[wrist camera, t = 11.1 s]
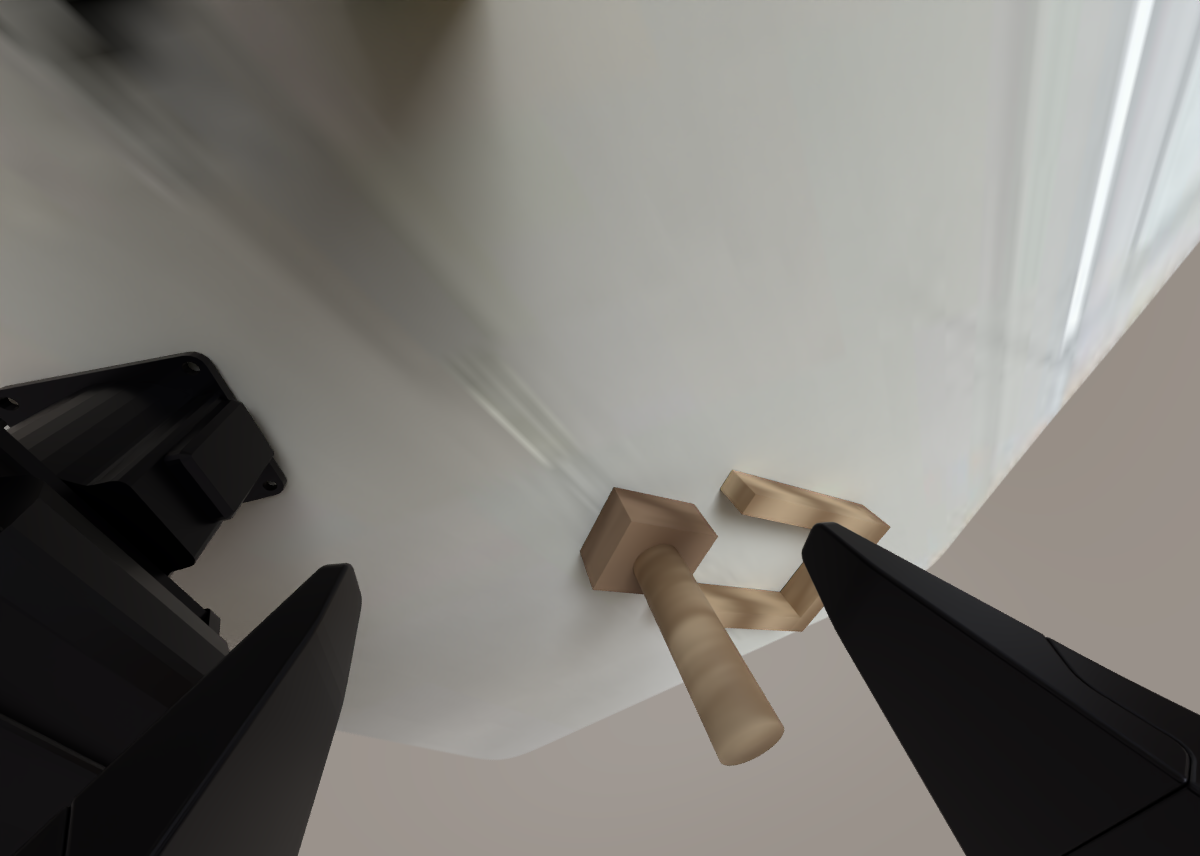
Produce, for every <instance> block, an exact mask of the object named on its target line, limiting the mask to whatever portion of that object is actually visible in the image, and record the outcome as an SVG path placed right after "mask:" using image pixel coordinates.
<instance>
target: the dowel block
mask: <svg viewBox="0 0 1200 856" xmlns="http://www.w3.org/2000/svg"><path fill="white" fill-rule="evenodd" d="M717 537H718V536H717V535H716V533H715V532H714V530H713V529H712V528H711V526H710V525H709V524H708V522H707V521H706V520H705V518H704V517H703V516H702V514H701V513H700V512H699V510H698V509H697V507H696V506H695V505H694V504H691V503H686V502H682V501H677V500H672V499H668V498H663V497H658V496H654V495H649V494H644V493H639V492H635V491H630V490H625V489H621V488H616V487H614V488H613V489H612V491H611V493H610V495H609V497H608V499H607V501H606V503H605V505H604V507H603V508H602V510H601V512H600V514H599V516H598V518H597V520H596V522H595V524H594V525H593V527H592V529H591V531H590V533H589V535H588V537H587V539H586V541H585V543H584V544H583V546H582V548H581V550H580V553H581V556H582V559H583V562H584V565H585V568H586V571H587V574H588V577H589V580H590V583H591V586H592V589H593V590H602V591H613V592H625V593H636V594H644V596H645V598H646V600H647V602H648V604H649V607H650V609H651V611H652V613H653V615H654V618H655V620H656V622H657V624H658V626H659V629H660V631H661V633H662V635H663V637H664V640H665V642H666V644H667V646H668V648H669V651H670V653H671V655H672V657H673V659H674V662H675V664H676V666H677V668H678V670H679V673H680V675H681V677H682V679H683V681H684V683H685V686H686V688H687V690H688V692H689V694H690V696H691V699H692V701H693V703H694V705H695V708H696V710H697V712H698V714H699V716H700V719H701V721H702V723H703V725H704V727H705V730H706V732H707V734H708V736H709V738H710V741H711V743H712V745H713V747H714V749H715V751H716V754H717V756H718V758H719V760H720V762H721V763H722V764H723V765H727V766H731V765H738V764H742V763H745V762H747V761H750V760H752V759H754V758H756V757H758V756H760V755H761V754H763V753H764V752H766V751H767V750H769V749H770V748H771V747H773V746H774V745H775V744H776V743H777V742H778V741H779V739H780V738H781V737H782V735H783V733H784V727H783V725H782V723H781V721H780V720H779V718H778V717H777V715H776V713H775V711H774V710H773V708H772V707H771V705H770V703H769V701H768V700H767V698H766V697H765V695H764V693H763V691H762V690H761V688H760V687H759V685H758V683H757V682H756V680H755V678H754V677H753V675H752V673H751V672H750V670H749V668H748V667H747V665H746V663H745V662H744V660H743V658H742V657H741V655H740V653H739V652H738V650H737V648H736V647H735V645H734V643H733V642H732V640H731V638H730V637H729V635H728V633H727V632H726V630H725V628H724V627H723V625H722V623H721V622H720V620H719V618H718V617H717V615H716V613H715V612H714V610H713V608H712V607H711V605H710V603H709V602H708V600H707V598H706V597H705V595H704V593H703V592H702V590H701V588H700V587H699V585H698V583H697V582H696V580H695V578H694V577H693V573H694V572H695V570H696V569H697V567H698V566H699V564H700V563H701V561H702V560H703V558H704V557H705V555H706V554H707V552H708V551H709V549H710V548H711V546H712V545H713V543H714V542H715V540H716V539H717Z"/></svg>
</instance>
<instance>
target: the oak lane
mask: <svg viewBox="0 0 1200 856" xmlns="http://www.w3.org/2000/svg"><path fill="white" fill-rule="evenodd" d="M721 490H722V492H723V493H724V494H725V495H726V496H727V497H728V499H729V500H730V501H731V502H732V503H733V504H734V506H735V507H736V508H737V509H738V510H739V511H740V513H741V514H743V515H748V516H752V517H757V518H762V519H766V520H771V521H776V522H781V523H785V524H790V525H795V526H800V527H804V528H809V529H812V527H813V526H814V525H815V524H816V523H822V522H835V523H838V524H840V525H842V526H844V527H845V528H847V529H849V530H851V531H853V532H855V533H857V534H858V535H860V536H862V537H864V538H866V539H868V540H869V541H871V542H873V543H875V544H877V543H878V541H879V540H880V539H881V538H882V537H883V536H884V534H885V533H886V532H887V531H888V530H889V528H890V526H889V525H887V524H886V523H885V522H884V521H882V520H881V519H880V518H879V517H877V516H876V515H875V514H874V513H872V512H871V511H870V510H868V509H867V508H866V507H865V506H863V505H861V504H857V503H854V502H850V501H846V500H842V499H839V498H835V497H831V496H828V495H824V494H820V493H816V492H813V491H809V490H805V489H801V488H798V487H794V486H790V485H787V484H783V483H779V482H775V481H772V480H768V479H764V478H761V477H757V476H753V475H749V474H746V473H742V472H738V471H735V470H732V471H731V473H730V474H729V476H728V478H727V479H726V481H725V482H724V484H723V485H722V487H721ZM698 585H699V587H700V588H701V590H702V592H703V593H704V595H705V597H706V598H707V600H708V602H709V603H710V605H711V607H712V608H713V610H714V612H715V613H716V615H717V617H718V618H719V620H720V622H721V623H722V625H723V627H724V628H742V629H761V630H780V631H800V632H802V631H803V630H804V629H805V628H806V627H807V626H808V624H809V623H810V622H811V621H812V620H813V618H814V617H815V616H816V615H817V614H818V612H819V611H820V610H821V609H822V608H823V607H824V605H823V603H822V601H821V599H820V597H819V595H818V592H817V590H816V588H815V586H814V584H813V582H812V580H811V577H810V575H809V573H808V571H807V569H806V567H805V565H804V562H803V564H802V565H801V566H800V567H799V569H798V570H797V571H796V572H795V574H794V575H793V576H792V578H791V579H790V580H789V581H788V583H787V584H786V585H785V587H784V588H783V589H782V590H781V592H774V591H765V590H756V589H747V588H737V587H728V586H719V585H710V584H701V583H698Z"/></svg>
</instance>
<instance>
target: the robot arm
mask: <svg viewBox="0 0 1200 856" xmlns="http://www.w3.org/2000/svg"><path fill="white" fill-rule="evenodd" d="M188 362H192V363H195V364H196V365H197V366H198V367H199V369H200V371H195V370H193V369H191V368H190V367H189V366H188ZM7 397H8V398H11V399H14V400H15V401H16V402H18V404H19V405H16V404H13V403H12V402H10V401H9V399H8V398H7ZM7 425H8V426H9V427H10V428H9V429H7V430H5V429H4V427H5V426H7ZM273 455H274V452H273V450H272V449H271V447H270V446H269V444H268V442H267V441H266V439H265V438H264V436H263V434H262V433H261V431H260V430H259V428H258V427H257V425H256V423H255V422H254V420H253V419H252V417H251V416H250V414H249V412H248V411H247V409H246V408H245V406H244V405H243V403H241V402H239V401H237V400H236V399H235V398H234V396H233V394H232V393H231V391H230V390H229V388H228V387H227V385H226V383H225V382H224V380H223V379H222V377H221V376H220V374H219V373H218V371H217V369H216V368H215V366H214V365H213V363H212V362H211V361H210V359H209V358H208V357H206V356H205V355H203V354H201V353H197V352H185V353H180V354H175V355H169V356H164V357H159V358H153V359H148V360H143V361H137V362H132V363H127V364H121V365H116V366H111V367H105V368H100V369H95V370H89V371H84V372H79V373H73V374H68V375H63V376H57V377H52V378H47V379H41V380H36V381H31V382H25V383H20V384H15V385H9V386H5V387H2V388H0V856H298V853H299V849H300V846H301V842H302V839H303V836H304V833H305V829H306V826H307V823H308V819H309V816H310V813H311V809H312V806H313V803H314V800H315V796H316V793H317V790H318V786H319V783H320V780H321V776H322V773H323V770H324V766H325V763H326V759H327V756H328V753H329V749H330V746H331V743H332V739H333V736H334V733H335V730H336V726H337V723H338V720H339V716H340V712H341V709H342V705H343V701H344V697H345V692H346V687H347V682H348V677H349V671H350V666H351V660H352V655H353V650H354V644H355V639H356V633H357V628H358V623H359V617H360V612H361V604H362V598H361V592H360V589H359V586H358V582H357V579H356V575H355V572H354V569H353V567H352V565H351V564H349V563H341V564H329V565H325V566H323V567H321V568H319V569H318V570H317V571H316V572H315V573H314V574H313V575H312V576H311V577H310V578H309V579H308V580H306V581H305V582H304V583H303V584H302V585H301V586H300V587H299V588H298V589H297V590H296V591H295V592H294V593H293V594H291V595H290V596H289V597H288V598H287V599H286V600H285V601H284V602H283V603H282V604H281V605H280V606H279V607H278V608H277V609H275V610H274V611H273V612H272V613H271V614H270V615H269V616H268V617H267V618H266V619H265V620H264V621H263V622H262V623H260V624H259V625H258V626H257V627H256V628H255V629H254V630H253V631H252V632H251V633H250V634H249V635H248V636H247V637H245V638H244V639H243V640H242V641H241V642H240V643H239V644H238V645H237V646H236V647H235V648H234V649H233V650H232V651H230V652H229V648H228V644H227V642H226V641H225V640H224V639H223V638H222V637H220V636H219V632H220V618H219V617H218V616H217V615H216V614H215V613H214V612H213V611H211V610H210V609H203V608H202V607H201V606H200V605H199V604H198V603H197V602H196V601H194V600H193V599H192V598H191V597H190V596H189V595H188V594H187V593H186V592H184V591H183V590H182V589H181V588H180V587H179V586H178V585H177V584H176V583H175V582H173V581H172V580H171V579H170V576H171V575H172V574H173V572H174V571H176V570H180V569H184V568H187V567H190V566H192V565H194V564H195V562H196V561H197V559H198V558H199V556H200V555H201V553H202V552H203V550H204V549H205V547H206V546H207V544H208V543H209V542H210V540H211V539H212V537H213V536H214V534H215V533H216V531H217V530H218V528H219V527H220V525H221V524H222V522H223V521H225V520H229V519H231V518H232V517H233V516H234V515H235V513H236V511H237V510H238V508H239V507H240V505H241V504H242V503H245V502H249V501H253V500H257V499H261V498H265V497H269V496H273V495H276V494H279V493H281V492H282V490H283V489H284V487H285V485H286V483H287V480H286V477H285V476H284V474H283V472H282V471H281V469H280V468H279V466H278V465H277V463H276V462H275V460H274V458H273V457H272V456H273ZM267 481H272V482H275V483H276V484H277V485H270V484H268V483H267ZM802 559H803V562H804V565H805V567H806V569H807V571H808V573H809V575H810V577H811V580H812V582H813V584H814V586H815V588H816V590H817V592H818V595H819V597H820V599H821V601H822V603H823V605H824V607H825V610H826V612H827V614H828V616H829V618H830V620H831V622H832V624H833V626H834V628H835V630H836V632H837V634H838V636H839V637H840V639H841V641H842V643H843V644H844V646H845V648H846V650H847V651H848V653H849V655H850V656H851V658H852V660H853V662H854V663H855V665H856V667H857V669H858V670H859V672H860V674H861V676H862V677H863V679H864V680H865V682H866V684H867V686H868V688H869V689H870V691H871V693H872V694H873V696H874V698H875V699H876V701H877V703H878V705H879V707H880V708H881V710H882V712H883V713H884V715H885V717H886V718H887V720H888V722H889V724H890V726H891V727H892V729H893V731H894V732H895V734H896V736H897V738H898V739H899V741H900V743H901V745H902V746H903V748H904V749H905V751H906V753H907V755H908V757H909V758H910V760H911V762H912V764H913V765H914V767H915V769H916V770H917V772H918V774H919V775H920V777H921V779H922V781H923V782H924V784H925V786H926V788H927V789H928V791H929V793H930V795H931V796H932V798H933V800H934V801H935V803H936V805H937V807H938V808H939V810H940V812H941V814H942V815H943V817H944V819H945V820H946V822H947V824H948V826H949V827H950V829H951V831H952V832H953V834H954V836H955V837H956V839H957V841H958V843H959V845H960V846H961V848H962V850H963V851H964V853H965V855H966V856H1200V715H1199V714H1197V713H1195V712H1193V711H1191V710H1188V709H1186V708H1185V707H1182V706H1180V705H1178V704H1176V703H1174V702H1172V701H1170V700H1168V699H1166V698H1164V697H1162V696H1160V695H1158V694H1156V693H1154V692H1152V691H1150V690H1148V689H1146V688H1144V687H1142V686H1140V685H1138V684H1136V683H1134V682H1132V681H1130V680H1128V679H1126V678H1124V677H1122V676H1120V675H1118V674H1117V673H1115V672H1113V671H1111V670H1109V669H1107V668H1105V667H1103V666H1101V665H1099V664H1098V663H1096V662H1094V661H1092V660H1090V659H1088V658H1086V657H1084V656H1082V655H1080V654H1078V653H1077V652H1075V651H1073V650H1071V649H1069V648H1067V647H1066V646H1064V645H1062V644H1060V643H1058V642H1056V641H1055V640H1053V639H1051V638H1048V637H1045V636H1044V635H1043V634H1041V633H1039V632H1038V631H1036V630H1034V629H1032V628H1030V627H1029V626H1027V625H1025V624H1023V623H1021V622H1019V621H1017V620H1015V619H1014V618H1012V617H1010V616H1008V615H1006V614H1004V613H1003V612H1001V611H999V610H997V609H995V608H993V607H992V606H990V605H988V604H986V603H984V602H982V601H980V600H978V599H977V598H975V597H973V596H971V595H969V594H967V593H966V592H964V591H962V590H960V589H958V588H956V587H954V586H953V585H951V584H949V583H947V582H945V581H943V580H942V579H940V578H938V577H936V576H934V575H932V574H930V573H928V572H927V571H925V570H923V569H921V568H919V567H918V566H916V565H914V564H912V563H910V562H908V561H906V560H905V559H903V558H901V557H899V556H897V555H895V554H894V553H892V552H890V551H888V550H886V549H884V548H882V547H881V546H879V545H877V544H875V543H873V542H871V541H869V540H868V539H866V538H864V537H862V536H860V535H858V534H857V533H855V532H853V531H851V530H849V529H847V528H845V527H844V526H842V525H840V524H838V523H835V522H822V523H816V524H815V525H814V526H813V527H812V529H811V531H810V533H809V535H808V538H807V540H806V542H805V544H804V547H803V549H802Z"/></svg>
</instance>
